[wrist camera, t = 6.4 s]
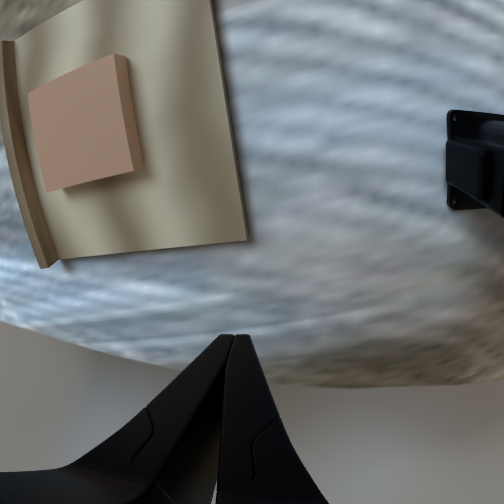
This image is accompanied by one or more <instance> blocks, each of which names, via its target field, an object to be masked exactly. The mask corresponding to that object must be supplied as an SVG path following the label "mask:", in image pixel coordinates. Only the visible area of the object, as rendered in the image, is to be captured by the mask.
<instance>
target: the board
mask: <svg viewBox="0 0 504 504" xmlns="http://www.w3.org/2000/svg"><path fill="white" fill-rule="evenodd" d="M111 54H118V55H122V56H126V62H127V69H128V76H129V83H130V90H131V96H132V102H133V108H134V114H135V120H136V125H137V131H138V136H139V141H140V147H141V152H142V157H143V161H144V166H143V167H141V168H139V169H137V170H135V171H132V172H127V173H122V174H118V175H114V176H109V177H105V178H101V179H97V180H93V181H89V182H85V183H81V184H77V185H73V186H69V187H66V188H62V189H59V190H55V191H51V192H48V193H47V192H46V188H45V184H44V180H43V176H42V172H41V167H40V163H39V158H38V154H37V149H36V144H35V139H34V133H33V128H32V122H31V115H30V109H29V102H28V94H27V93H29V92H31V91H33V90H35V89H37V88H38V87H40V86H42V85H44V84H46V83H48V82H50V81H52V80H54V79H56V78H58V77H60V76H62V75H64V74H66V73H68V72H71V71H73V70H75V69H77V68H79V67H82V66H84V65H86V64H89V63H91V62H93V61H96V60H98V59H101V58H103V57H106V56H108V55H111ZM0 122H1V128H2V134H3V140H4V145H5V151H6V155H7V160H8V165H9V169H10V174H11V178H12V182H13V186H14V190H15V193H16V197H17V201H18V204H19V208H20V211H21V215H22V218H23V221H24V224H25V227H26V230H27V233H28V236H29V239H30V242H31V245H32V248H33V251H34V253H35V256H36V259H37V261H38V264H39V267H40V269H42V268H49V267H50V266H51V265H53V264H54V263H55V262H56V261H57V260H59V259H68V258H78V257H87V256H96V255H106V254H115V253H125V252H134V251H144V250H154V249H164V248H174V247H184V246H194V245H204V244H215V243H225V242H236V241H247V238H248V235H249V233H248V227H247V220H246V214H245V207H244V201H243V194H242V188H241V182H240V175H239V169H238V162H237V156H236V149H235V143H234V136H233V130H232V123H231V117H230V110H229V104H228V97H227V91H226V85H225V78H224V72H223V65H222V59H221V52H220V46H219V39H218V33H217V26H216V20H215V13H214V7H213V0H84V1H82V2H80V3H78V4H76V5H74V6H72V7H70V8H68V9H66V10H64V11H63V12H61V13H59V14H57V15H55V16H54V17H52V18H50V19H48V20H47V21H45V22H43V23H42V24H40V25H38V26H37V27H35V28H34V29H32V30H31V31H29V32H27V33H26V34H24V35H23V36H21V37H20V38H19V39H17V40H16V41H1V42H0Z"/></svg>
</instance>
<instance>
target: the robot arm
mask: <svg viewBox="0 0 504 504" xmlns="http://www.w3.org/2000/svg"><path fill="white" fill-rule="evenodd" d="M454 114H455V115H456V120H455V121H454V120H453V115H454ZM447 132H448V141H447V142H446V181H447V182H448V190H447V204H448V206H449V207H450V208H451V209H453V210H465V209H484V208H488V209H490V210H492V211H493V212H495V213H496V214H498V215H499V216H501V217H502V218H504V115H500V114H492V113H483V112H474V111H464V110H450V111H448V113H447ZM454 199H456V203H455V204H453V201H454ZM146 407H147V408H143V409H142V410H141V411H140V412H139V413H138V414H137V415H136V416H135V417H134V418H132V419H131V420H130V421H129V422H128V423H127V424H126V425H124V426H123V427H122V428H121V429H120V430H118V431H117V432H115V434H113V435H112V436H110V437H109V438H108V439H106V440H105V441H103V442H102V443H101V444H99V445H98V446H96V447H95V448H94V449H92V450H91V451H89V452H88V453H87V454H85V455H83V456H82V457H81V458H79V459H78V460H76V461H75V462H73V463H71V464H69V465H67V466H64V467H61V468H57V469H51V470H39V471H22V472H0V504H211V501H212V497H213V493H214V489H215V485H216V481H217V493H216V504H329V503H328V502H327V500H326V499H325V497H324V496H323V495H322V493H321V492H320V490H319V489H318V487H317V485H316V484H315V482H314V481H313V479H312V478H311V476H310V474H309V473H308V471H307V470H306V468H305V467H304V465H303V463H302V462H301V460H300V458H299V457H298V455H297V453H296V451H295V449H294V448H293V446H292V444H291V442H290V439H289V437H288V435H287V433H286V430H285V428H284V425H283V423H282V420H281V418H280V416H279V413H278V410H277V408H276V405H275V402H274V400H273V397H272V395H271V392H270V389H269V386H268V384H267V381H266V378H265V376H264V373H263V370H262V367H261V365H260V362H259V359H258V357H257V354H256V351H255V348H254V346H253V343H252V340H251V337H250V335H248V334H237V335H235V336H234V335H233V334H221V335H219V336H218V337H217V338H216V339H215V340H214V341H213V342H212V343H211V344H210V345H209V346H208V347H207V348H206V349H205V350H204V351H203V352H202V353H201V354H200V355H199V356H198V357H197V358H196V359H195V360H194V361H193V362H191V363H190V364H189V365H188V366H187V367H186V368H185V369H184V370H183V371H182V372H181V373H180V374H179V375H178V376H177V377H176V378H175V379H174V380H173V381H172V382H171V383H170V384H169V385H168V386H167V387H166V388H165V389H164V390H162V391H161V393H159V394H158V395H157V396H156V397H155V398H154V399H153V400H152V401H151V402H150V403H149V404H148V405H147V406H146Z"/></svg>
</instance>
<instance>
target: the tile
mask: <svg viewBox="0 0 504 504" xmlns="http://www.w3.org/2000/svg"><path fill="white" fill-rule="evenodd" d="M27 94H28V102H29V109H30V115H31V122H32V128H33V133H34V139H35V144H36V149H37V154H38V158H39V163H40V167H41V172H42V176H43V180H44V184H45V188H46V192H47V193H48V192H51V191H55V190H59V189H62V188H66V187H69V186H73V185H77V184H81V183H85V182H89V181H93V180H97V179H101V178H105V177H109V176H114V175H118V174H122V173H127V172H132V171H135V170H137V169H139V168H141V167H143V166H144V161H143V157H142V152H141V147H140V141H139V136H138V131H137V125H136V120H135V114H134V108H133V102H132V96H131V90H130V83H129V76H128V69H127V62H126V56H122V55H118V54H111V55H108V56H106V57H103V58H101V59H98V60H96V61H93V62H91V63H89V64H86V65H84V66H82V67H79V68H77V69H75V70H73V71H71V72H68V73H66V74H64V75H62V76H60V77H58V78H56V79H54V80H52V81H50V82H48V83H46V84H44V85H42V86H40V87H38V88H37V89H35V90H33V91H31V92H29V93H27Z"/></svg>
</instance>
